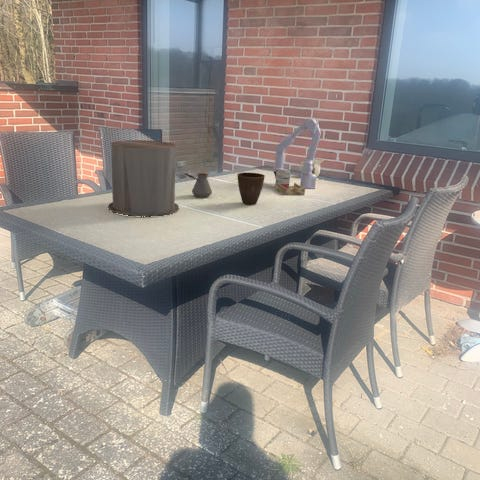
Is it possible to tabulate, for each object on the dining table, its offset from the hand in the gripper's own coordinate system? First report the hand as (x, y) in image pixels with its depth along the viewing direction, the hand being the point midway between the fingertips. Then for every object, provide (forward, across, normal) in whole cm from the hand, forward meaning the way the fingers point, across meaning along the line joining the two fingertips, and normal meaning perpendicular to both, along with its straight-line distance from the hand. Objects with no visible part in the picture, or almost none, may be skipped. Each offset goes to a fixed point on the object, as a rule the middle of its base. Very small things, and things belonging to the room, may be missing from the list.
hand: (277, 182), depth 335 cm
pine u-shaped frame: (+1, +24, 0) cm, 24 cm away
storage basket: (+2, +63, -93) cm, 112 cm away
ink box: (+2, +9, 0) cm, 9 cm away
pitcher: (+2, -25, +34) cm, 42 cm away
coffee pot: (+2, +39, -62) cm, 73 cm away
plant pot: (+2, +54, -35) cm, 64 cm away
